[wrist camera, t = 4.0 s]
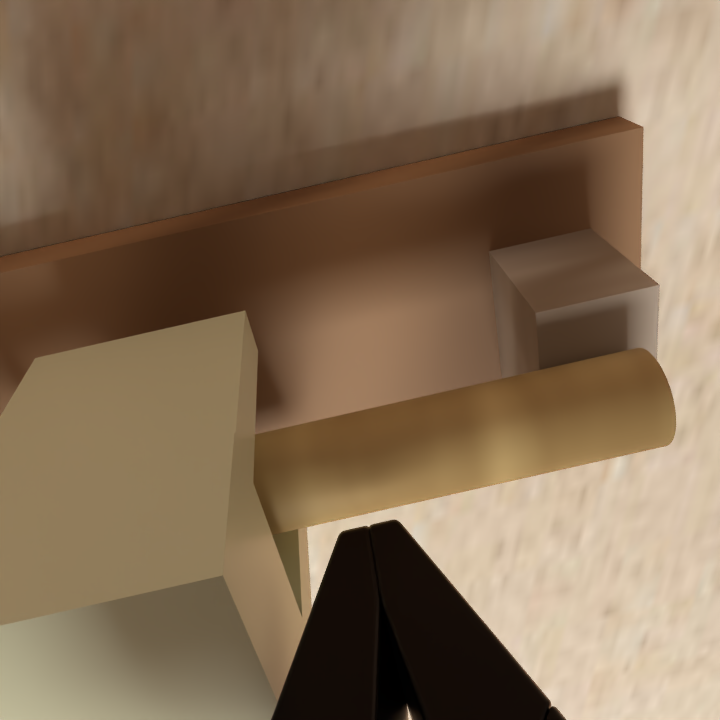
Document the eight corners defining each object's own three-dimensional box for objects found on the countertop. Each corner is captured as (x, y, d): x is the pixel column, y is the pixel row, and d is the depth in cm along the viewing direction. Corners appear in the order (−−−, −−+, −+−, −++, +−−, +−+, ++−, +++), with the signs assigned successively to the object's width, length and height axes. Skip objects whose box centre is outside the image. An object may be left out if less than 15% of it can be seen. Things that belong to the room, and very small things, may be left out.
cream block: (244, 307, 11) (222, 574, 6) (305, 501, 14) (325, 811, 9) (34, 355, 11) (-154, 660, 6) (129, 540, 14) (47, 874, 9)
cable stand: (619, 116, 13) (858, 219, 8) (618, 389, 16) (786, 594, 11) (-245, 312, 13) (-598, 550, 8) (-73, 545, 16) (-240, 825, 11)
